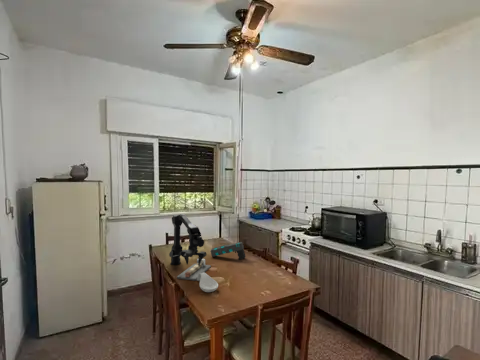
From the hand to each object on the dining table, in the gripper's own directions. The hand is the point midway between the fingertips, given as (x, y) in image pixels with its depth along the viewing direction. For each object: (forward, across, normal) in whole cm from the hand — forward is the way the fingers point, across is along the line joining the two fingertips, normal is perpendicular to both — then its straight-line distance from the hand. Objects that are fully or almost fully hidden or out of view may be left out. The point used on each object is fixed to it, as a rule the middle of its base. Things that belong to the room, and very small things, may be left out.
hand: (193, 265), depth 190 cm
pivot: (+5, 0, +15) cm, 16 cm away
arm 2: (+5, +1, +1) cm, 5 cm away
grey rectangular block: (+5, 0, +14) cm, 15 cm away
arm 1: (+5, -1, +1) cm, 5 cm away
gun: (+7, +12, +43) cm, 45 cm away
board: (+6, 0, +3) cm, 7 cm away
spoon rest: (+7, +17, -17) cm, 25 cm away
